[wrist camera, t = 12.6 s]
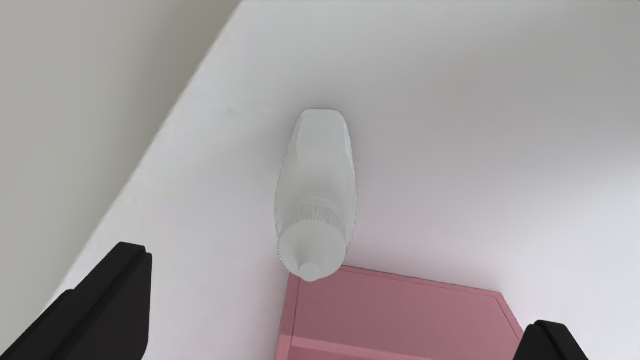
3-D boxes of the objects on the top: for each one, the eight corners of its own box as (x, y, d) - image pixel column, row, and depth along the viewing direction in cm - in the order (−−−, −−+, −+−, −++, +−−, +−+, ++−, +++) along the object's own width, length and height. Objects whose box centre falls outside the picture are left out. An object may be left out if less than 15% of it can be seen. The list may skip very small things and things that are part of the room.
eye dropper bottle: (380, 134, 25) (418, 238, 14) (327, 213, 27) (322, 361, 16) (312, 93, 24) (294, 166, 13) (262, 176, 26) (208, 303, 15)
